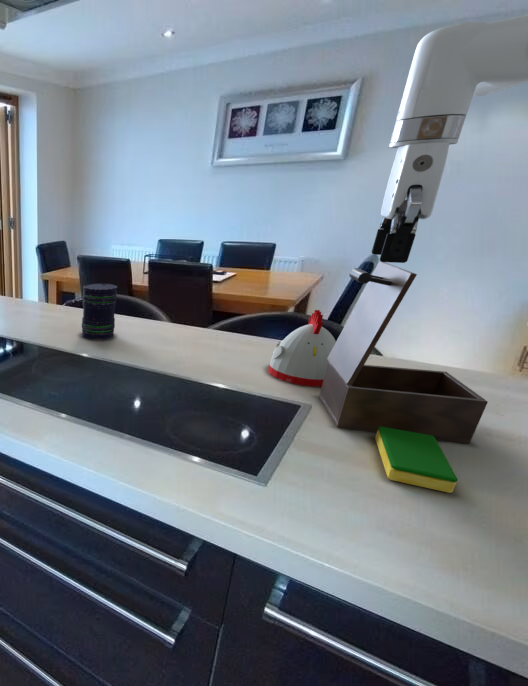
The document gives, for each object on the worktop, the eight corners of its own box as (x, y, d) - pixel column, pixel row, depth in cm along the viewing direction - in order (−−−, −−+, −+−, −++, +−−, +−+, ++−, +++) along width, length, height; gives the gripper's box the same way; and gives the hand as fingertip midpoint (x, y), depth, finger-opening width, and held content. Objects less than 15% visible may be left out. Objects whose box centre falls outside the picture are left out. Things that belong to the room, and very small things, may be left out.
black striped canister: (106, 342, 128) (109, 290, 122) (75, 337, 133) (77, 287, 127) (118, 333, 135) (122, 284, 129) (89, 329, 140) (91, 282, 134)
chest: (431, 409, 84) (446, 371, 81) (469, 444, 72) (488, 401, 69) (318, 397, 90) (328, 361, 87) (336, 427, 79) (348, 387, 76)
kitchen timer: (272, 382, 98) (286, 316, 92) (264, 361, 110) (277, 302, 104) (346, 390, 93) (366, 321, 87) (330, 367, 105) (347, 305, 99)
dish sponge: (387, 480, 64) (392, 466, 63) (374, 437, 75) (378, 425, 74) (452, 494, 61) (459, 479, 60) (429, 448, 72) (434, 435, 71)
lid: (384, 262, 78) (349, 254, 80) (417, 274, 67) (376, 265, 68) (331, 360, 87) (300, 352, 88) (351, 385, 75) (316, 376, 77)
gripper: (480, 124, 54) (431, 267, 61) (444, 137, 68) (407, 253, 74) (402, 130, 58) (364, 264, 64) (383, 141, 71) (353, 251, 78)
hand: (387, 258), depth 69 cm, fingers open, 9 cm apart
